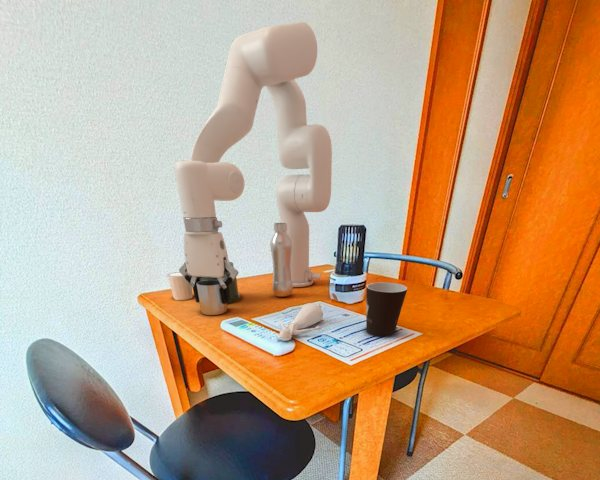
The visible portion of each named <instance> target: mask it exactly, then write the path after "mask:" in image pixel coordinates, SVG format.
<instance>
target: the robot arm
mask: <svg viewBox="0 0 600 480" xmlns="http://www.w3.org/2000/svg"><path fill="white" fill-rule="evenodd" d="M317 59H318V42H317V37H316V34H315V32H314V30H313V28H312V27H311V25H309V24H308V23H307V22H306V21H301V20H300V21H296V22H290V23H285V24H277V25H269V26H265V27H262V28H259V29H256V30H252V31H249V32H247V33H243V34H241V35H239V36H238V37H236V38H235V39H234V40H233V41H232V43H231V44H230V47H229V51H228V56H227V58H226V64H225V68H224V72H223V76H222V81H221V85H220V90H219V93H218V99H217V103H216V106H215V108H214V110H213V111H212V112H211V114H210V116H208V119H207V120H206V122H205V124H203V125H204V126H203V127H202V128H201V130H200V131H199V132H198V134H197V136H196V139H195V140H194V143H193V145H192V149H191V154H190V159H189V160H179V161H177V162H176V163H175V164H174V175H175V181H176V187H177V191H178V197H179V198H178V199H179V203H180V208H181V214H182V220H183V224H184V225H183V226H184V230H185V231H184V232H183V253H184V260H185V261H184V263H183V264H182V265H181V266H180V267H179V269H178V272H180V273H181V274H182V275H183V276H184V277H185V279H186V280H187V281H188V282H189V283H190V286H191V287H192V292H193V296H194V297H193V298H195V302H196V303H200V301H199V295H198V290H197V284H196V283H197V282H199V281H200V279H201V277H210V278H217V279H218V281H219V283H220V284H221V286H222V288H221V289H220V292H221V299H222V304H226V303H228V302H229V300H230V292H229V286H230V284H231V283H232V282H233V281H234V279H235V278H237V276H238V275H239V271H238V270H237V268H235V267H234V265H233V266H232V265H231V264H230V263H229V262H230V260H229V255H228V251H227V246H226V243H225V239H224V236H223V233H222V232H219V228H223V222H222V221H221V220H218V217H217V212H216V206H215V201H217V202H218V201H219V202H231V201H235V200H237V199H238V198H240V197H241V196H242V194H243V193H244V190H245V177H244V175H243V173H242V171H241V170H240V168H239V167H238V166H237V165H236V164H234V163H232V162H228V161H221V159H222V157H223V156H224V154H225V153H226V152H227V151H228V150H229V149H230V148H232V147H233V146H234V145H235V144H237V143H238V142H240V141H241V140H242V139H244V138H245V137H246V136H247V135H248V134H249V133H250V132H251V131H252V128H253V125H254V121H255V117H256V114H257V113H256V112H257V109H258V105H259V100H260V96H261V92H262V89H263V88H264V87H265V88H266V90H267V91H268V93H269V94H270V97H271V100H272V102H273V105H274V111H275V113H274V114H275V124H276V139H277V142H276V143H277V152H278V153H277V155H278V159H279V162H280V163H279V164H280V165H281V166H282V167H283V168H285V169H287V170H304V169H305V170H309V174H289V175H285V176H283V177H281V178H280V179H279V180H278V182H277V183H276V187H275V199H276V204H277V209H278V215H279V223H286V224H287V231H286V233H287V235H288V236H289V238H290V240H291V242H292V250H291V263H290V270H291V280H292V285H293V288H304V287H309V286H311V285H313V284H314V280H315V281H321V280H322V274H321V273H319V272H312V269H311V268H310V225H309V221H308V219H307V217H306V214H305V213H322V212H324V211H326V210H327V208H328V207H329V205H330V202H331V196H332V167H333V165H332V164H333V148H332V140H331V135H330V133H329V130H328V129H327V128H326V127H325V126H324V125H322V124H317V123H314V124H308V123H307V122H308V121H307V104H306V100H305V96H304V93H303V91H302V89H301V87H300V86H299V84H298V83H297V81H296V80H298V79H300V78H304V77H306V76H308V75H310V74H311V73H312V71H313V70H314V68H315V66H316V62H317ZM229 273H230V276H229V277H228V278H227V277H226V274H229ZM228 304H229V303H228ZM226 305H227V304H226Z"/></svg>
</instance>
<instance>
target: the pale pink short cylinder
mask: <svg viewBox="0 0 600 480" xmlns="http://www.w3.org/2000/svg"><path fill="white" fill-rule="evenodd" d="M166 278H167V281H168V284H169V287H170V290H171V293H172V297H173V299H174V300H175V301H186V300H191V299H193V298H194V297H193V296H194V293H193V287H191V286H190V283H189V282H188V281H187V280H186V279H185V277H184V276H183V275H182V274H181V273H180V272H179V271H176V272H175V271H174V272H170V273H167V274H166Z"/></svg>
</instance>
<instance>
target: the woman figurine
mask: <svg viewBox="0 0 600 480" xmlns="http://www.w3.org/2000/svg"><path fill="white" fill-rule="evenodd" d="M323 317H324V312H323V309H322V305H321V304H319V305H318V304H316V303H313V302H312V303H311V302H310V303H308V302H307V303H305V304H303V305H302V306H301V308H300V309H299V311H298V313H297V314H296V316H295V317H294V319H292V322H291V321H288V323H287V324H286V326H285V325H284V324H283V322H282V319H281V318H278V319H277V322H278V324H279V325H280V327H281V328H282V329H281V330H280V331H279V334H278V338H279V340H281V341H283V342H288V341H290V340H292V337H293V336H297V335H299V334H301V333H306V332H311V331H319V330H322V329H323V326H320V324H319V325H316V326H315V327H311V326H314V325H315V324H317V323H319V322H321V321H322V320H323ZM308 327H311V328H308ZM280 337H281V338H280ZM284 338H286V339H284Z"/></svg>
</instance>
